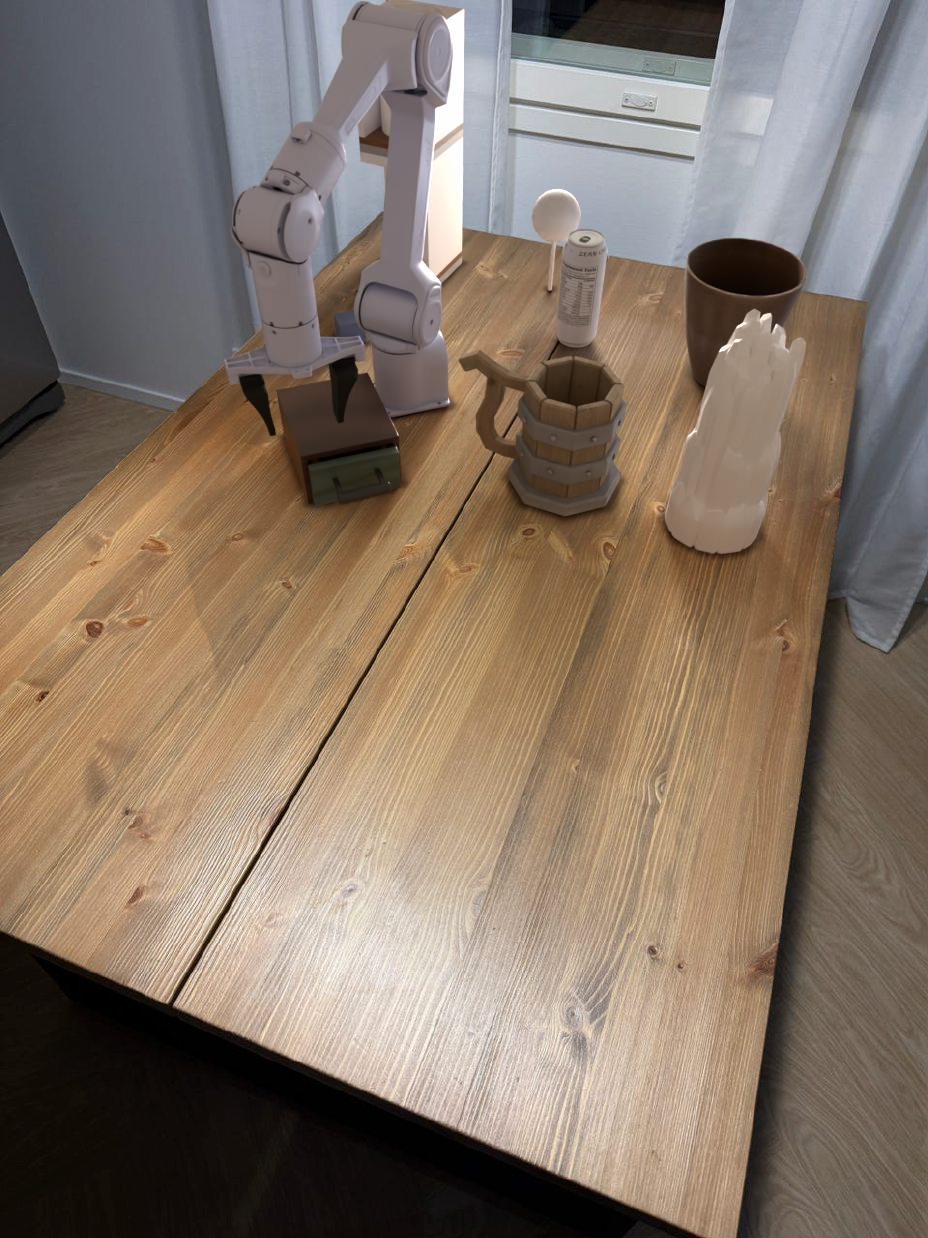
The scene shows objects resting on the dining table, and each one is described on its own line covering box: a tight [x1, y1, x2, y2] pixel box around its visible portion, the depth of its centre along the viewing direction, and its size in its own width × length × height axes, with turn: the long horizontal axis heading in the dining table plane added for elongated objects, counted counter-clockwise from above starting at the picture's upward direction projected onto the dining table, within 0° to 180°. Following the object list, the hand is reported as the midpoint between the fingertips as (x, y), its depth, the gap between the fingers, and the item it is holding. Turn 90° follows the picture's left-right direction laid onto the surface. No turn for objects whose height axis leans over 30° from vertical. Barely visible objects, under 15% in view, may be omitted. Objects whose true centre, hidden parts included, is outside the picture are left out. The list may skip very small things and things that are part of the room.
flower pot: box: [683, 237, 808, 387], centre depth 118 cm, size 15×15×16 cm
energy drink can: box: [554, 228, 609, 349], centre depth 124 cm, size 6×6×15 cm
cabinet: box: [275, 372, 403, 505], centre depth 108 cm, size 14×12×7 cm
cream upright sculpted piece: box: [664, 309, 807, 555], centre depth 95 cm, size 11×11×25 cm
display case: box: [357, 0, 465, 284], centre depth 129 cm, size 11×11×35 cm
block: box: [332, 309, 367, 345], centre depth 127 cm, size 4×4×4 cm
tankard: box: [458, 349, 628, 517], centre depth 104 cm, size 20×13×15 cm, turn 65°
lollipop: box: [531, 188, 582, 291], centre depth 133 cm, size 7×7×15 cm
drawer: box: [308, 444, 402, 507], centre depth 106 cm, size 17×10×5 cm, turn 19°
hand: (305, 424), depth 100 cm, fingers open, 7 cm apart
